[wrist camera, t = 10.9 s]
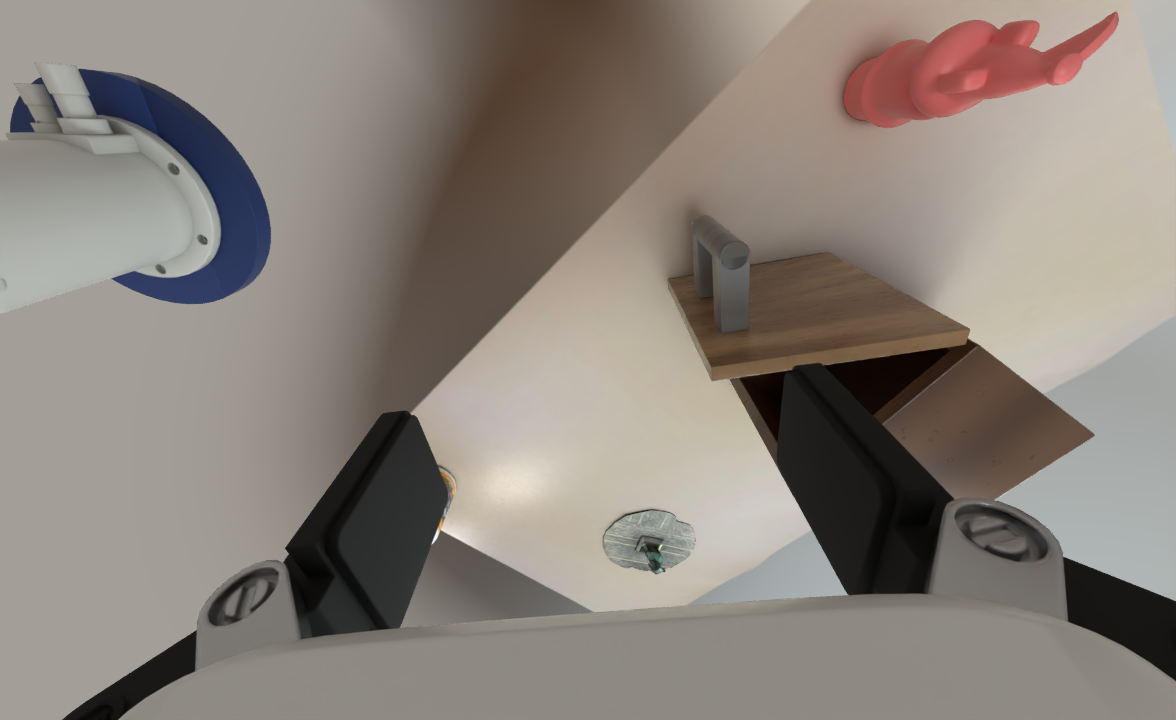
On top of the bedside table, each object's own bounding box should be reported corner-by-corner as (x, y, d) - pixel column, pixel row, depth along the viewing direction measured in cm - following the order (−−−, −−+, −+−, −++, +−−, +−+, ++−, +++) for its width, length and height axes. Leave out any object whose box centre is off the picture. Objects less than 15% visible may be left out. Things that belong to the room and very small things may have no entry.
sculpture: (700, 560, 58) (671, 611, 54) (646, 530, 64) (615, 574, 60) (687, 505, 52) (653, 559, 47) (628, 478, 58) (592, 523, 53)
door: (661, 212, 35) (707, 268, 21) (836, 180, 34) (1003, 218, 20) (668, 289, 38) (711, 381, 25) (827, 263, 37) (966, 344, 23)
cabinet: (727, 376, 43) (793, 497, 29) (833, 261, 37) (979, 344, 23) (811, 425, 46) (907, 557, 32) (921, 327, 40) (1096, 435, 26)
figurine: (889, 24, 29) (1133, -57, 16) (921, 87, 31) (1166, 59, 18) (822, 87, 31) (992, 60, 18) (856, 143, 33) (1034, 155, 20)
